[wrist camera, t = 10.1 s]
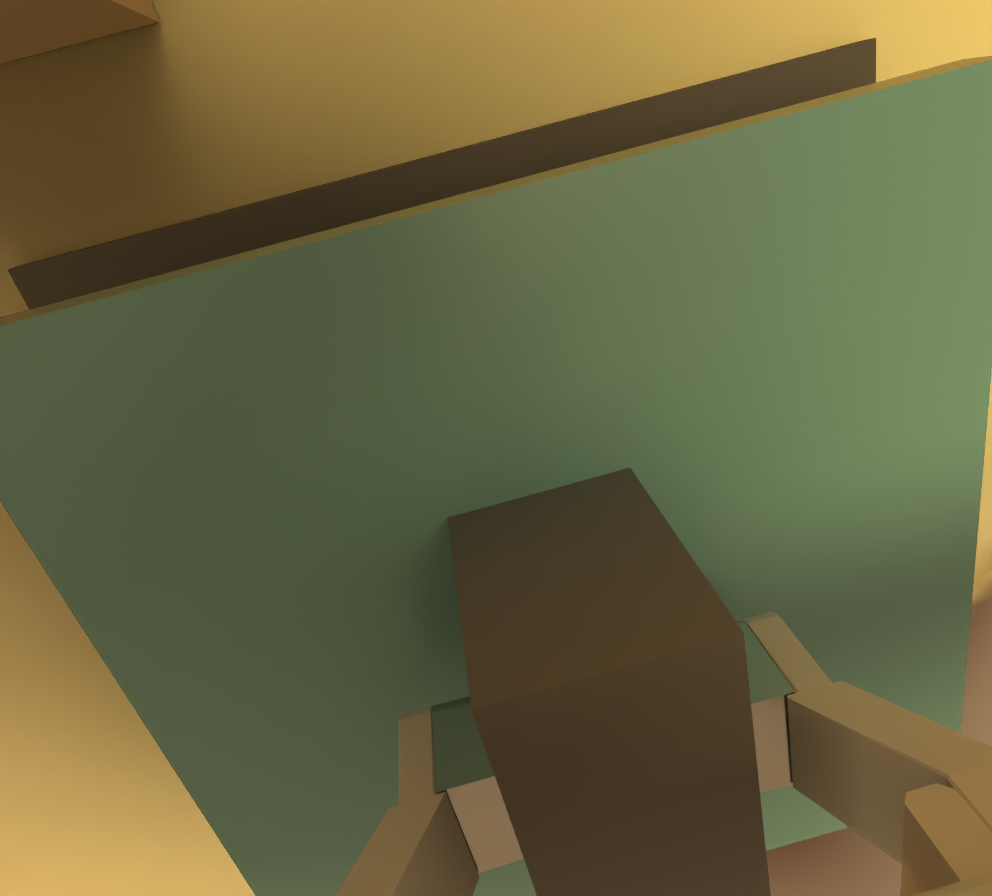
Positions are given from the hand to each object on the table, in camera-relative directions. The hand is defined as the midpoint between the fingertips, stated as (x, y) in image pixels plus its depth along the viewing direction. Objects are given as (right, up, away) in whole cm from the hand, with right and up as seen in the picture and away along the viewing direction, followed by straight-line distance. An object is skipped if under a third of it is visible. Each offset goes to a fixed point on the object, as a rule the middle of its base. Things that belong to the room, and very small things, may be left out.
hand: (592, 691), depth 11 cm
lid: (0, +1, +3) cm, 4 cm away
